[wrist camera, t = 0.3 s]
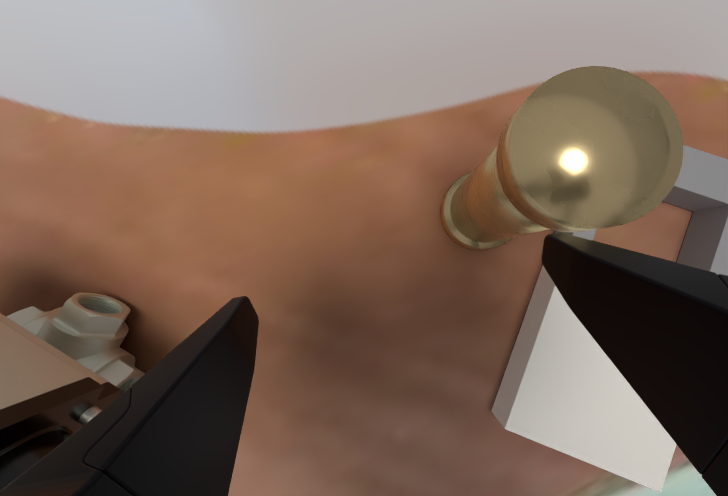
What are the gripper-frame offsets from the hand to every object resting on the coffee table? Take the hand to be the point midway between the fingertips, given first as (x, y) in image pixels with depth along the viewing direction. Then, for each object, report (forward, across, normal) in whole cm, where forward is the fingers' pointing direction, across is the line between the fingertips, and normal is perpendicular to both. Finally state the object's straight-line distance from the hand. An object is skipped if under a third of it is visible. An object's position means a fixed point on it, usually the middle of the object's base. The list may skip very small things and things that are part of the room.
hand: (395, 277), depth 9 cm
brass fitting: (+14, -8, +6) cm, 17 cm away
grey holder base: (+9, -15, +13) cm, 21 cm away
